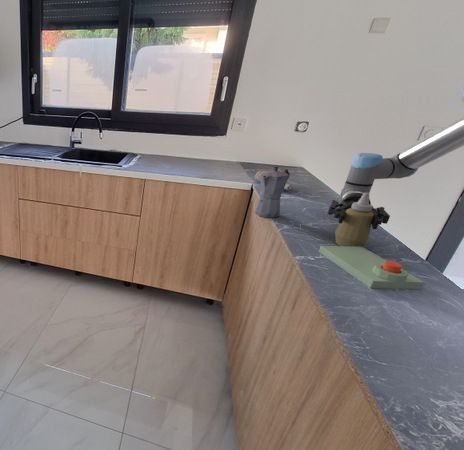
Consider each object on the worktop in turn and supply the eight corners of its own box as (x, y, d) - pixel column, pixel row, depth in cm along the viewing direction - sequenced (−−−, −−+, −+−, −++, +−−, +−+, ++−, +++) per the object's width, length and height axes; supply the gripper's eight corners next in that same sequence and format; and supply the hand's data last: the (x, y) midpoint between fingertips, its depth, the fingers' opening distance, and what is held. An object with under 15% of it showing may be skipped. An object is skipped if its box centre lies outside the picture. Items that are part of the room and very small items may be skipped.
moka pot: (244, 213, 130) (254, 166, 122) (266, 207, 136) (277, 162, 129) (266, 221, 122) (279, 171, 114) (289, 214, 129) (302, 166, 121)
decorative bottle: (252, 181, 175) (255, 170, 173) (266, 181, 175) (269, 169, 172) (282, 195, 151) (285, 182, 149) (297, 195, 151) (301, 181, 149)
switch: (391, 267, 82) (394, 261, 81) (402, 274, 79) (406, 267, 78) (378, 267, 82) (381, 260, 82) (389, 273, 79) (392, 266, 79)
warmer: (359, 252, 97) (363, 241, 96) (421, 289, 79) (428, 276, 77) (318, 252, 98) (322, 240, 97) (370, 288, 80) (376, 275, 78)
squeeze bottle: (361, 253, 97) (383, 198, 90) (329, 245, 102) (347, 193, 95) (365, 245, 102) (386, 192, 95) (334, 238, 107) (351, 187, 100)
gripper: (390, 218, 106) (400, 241, 90) (317, 206, 118) (313, 225, 102) (399, 197, 103) (410, 217, 87) (322, 187, 115) (320, 204, 99)
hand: (358, 222), depth 94 cm, fingers open, 7 cm apart
